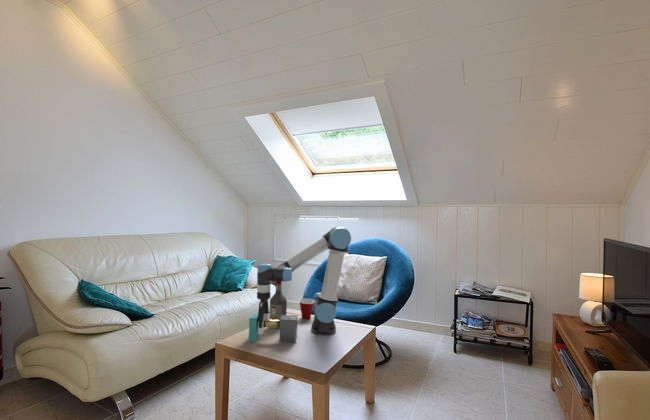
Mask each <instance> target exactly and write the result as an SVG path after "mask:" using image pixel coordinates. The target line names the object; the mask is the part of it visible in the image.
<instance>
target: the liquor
mask: <svg viewBox="0 0 650 420" xmlns="http://www.w3.org/2000/svg"><path fill="white" fill-rule="evenodd" d="M282 283H283V281H275V293H274V294H273V295H272V296H271V297H270V300H269V320H280V318H281V316H282V315H287V311H288V310H287V307H288V306H287V305H288V304H287V302H288V301H287V300H288V299H287V298H286V297H285V295H284V294H283V292H282ZM272 328H275V329H280V327H272Z"/></svg>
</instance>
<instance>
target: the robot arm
mask: <svg viewBox="0 0 650 420" xmlns="http://www.w3.org/2000/svg"><path fill="white" fill-rule="evenodd" d="M321 237H322V238H320V239H318V240H317V241H315V242H313V243H312V244H310V245H309V246H307V247H306V248H304V249H303V250H301V251H300V252H299V253H297V254H295V255H294V256H292V257H290V258H289V259H287V260H286V261H284V262H282V263H280V264H279V265H278V266H277V267H272V264H270V263H259V264H257V273H256V275H257V277H256V285H255V287H256V291H257V292H256V299H257V300H260V302H258V310H257V311H258V312H257V314H258V320H257V322H258V333H259V335H260V334H261V335H262V334H264V328H263V319H266V320H269V314H270V308H269V299H271V291H272V289H271V288H272V287H271V285H272V284H271V283H272V282H276V281H282V282H291V281H292V279H293V272H294V271H296V270H298V269H300V268H301V267H303V266H304V265H305V264H307V263H309V262H310V261H312V260H314V259H315V258H316V257H318V256H319V255H321V254H323V253H324V252H326V251H328V258H327V263H326V268H325V273H324V278H323V282H322V286H321V292H316V293H315V294H314V301H315V302H314V304H313V307H314V308H313V309H314V313H313V314H314V315H313V316H314V317H313V321H312V323H311V327H310V331H311V332H312V333H313V334H314V335H320V336H321V335H322V336H328V335H332V334H335V333H336V332H337V326H336V322H335V319H336V317H337V315H338V314H337V305H338V302H339V300H338V296H337V293H338V288H339V287H338V286H339V281H340V277H341V271H342V268H343V262H344V257H345V255H346V254H348V252H349V251H348V250H349V246H350V244H351V242H352V234H351V233H350V231H349V229H348V228H346V227H343V226H338V225H337V226H334V227H332V228H331V229H330V230H329V231H327V232H326V233H325V234H323V235H322V236H321Z"/></svg>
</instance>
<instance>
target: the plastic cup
mask: <svg viewBox="0 0 650 420" xmlns="http://www.w3.org/2000/svg"><path fill="white" fill-rule="evenodd" d="M298 301H299V305H300V306H299V307H300V314H301V319H303V320H309V319H311V316H312V311H313V309H314V308H313V307H314V304H315V299H312V298H299V300H298Z"/></svg>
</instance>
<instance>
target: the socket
mask: <svg viewBox="0 0 650 420" xmlns="http://www.w3.org/2000/svg"><path fill="white" fill-rule="evenodd" d="M257 319H258V313H252V314H251V315H250V316H249V317H248V342H250V343H251V342H253V343H256V342H257V341H258V339H259V337H260V334H259V333H258V327H257Z"/></svg>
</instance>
